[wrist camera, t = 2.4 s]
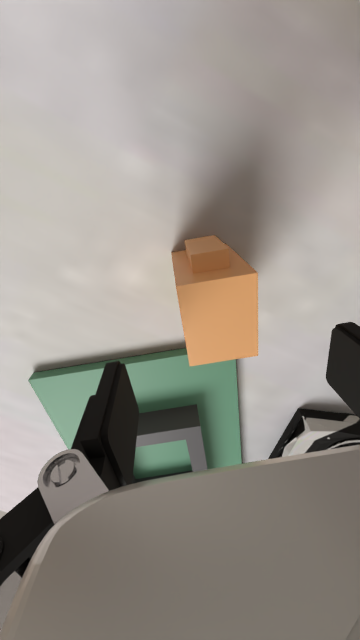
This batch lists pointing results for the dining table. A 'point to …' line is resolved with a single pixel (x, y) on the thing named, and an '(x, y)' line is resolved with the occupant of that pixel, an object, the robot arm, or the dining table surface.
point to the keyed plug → (216, 301)
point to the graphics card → (317, 433)
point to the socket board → (158, 410)
